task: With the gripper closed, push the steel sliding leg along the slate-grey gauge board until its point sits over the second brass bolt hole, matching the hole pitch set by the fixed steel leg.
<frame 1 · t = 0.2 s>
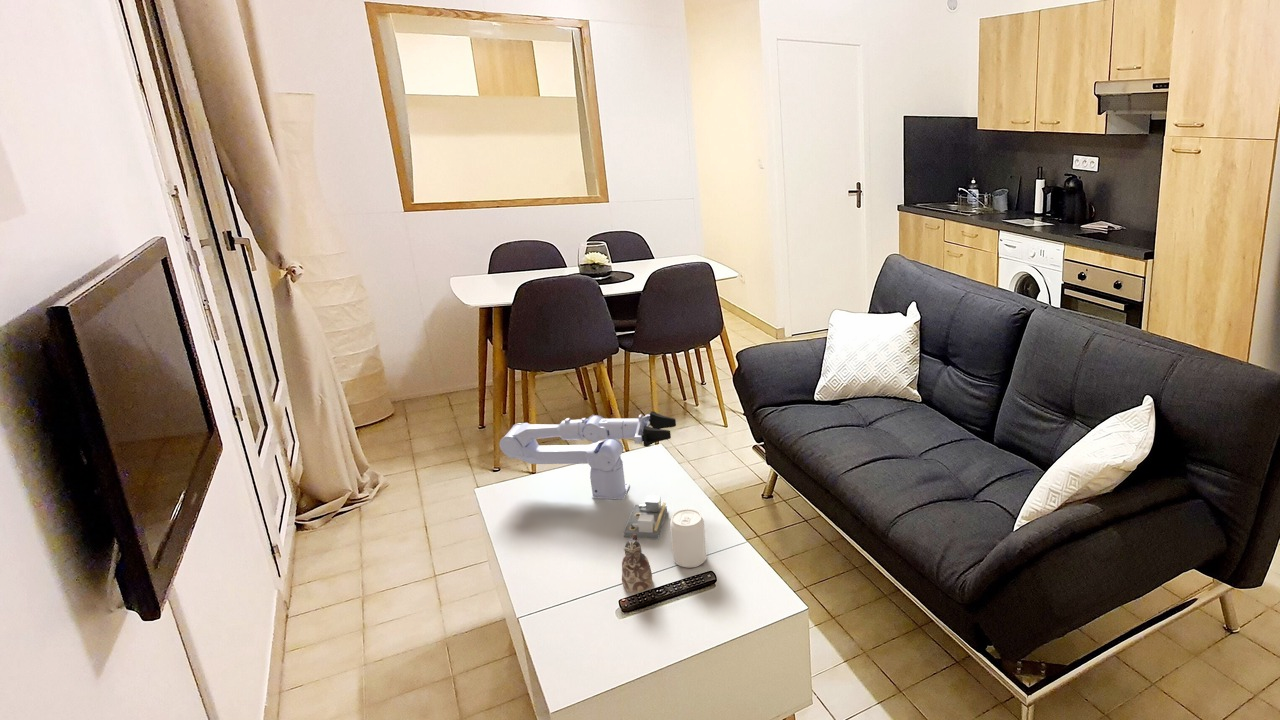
hand: (673, 428, 191), 21 cm above the table, tool horizontal, fingers open, 7 cm apart
gauge board: (646, 523, 186), on the table
figurine: (637, 583, 164), on the table
beverage can: (690, 559, 170), on the table
sliding leg: (649, 503, 189), point 3 cm above the table, slide at 0.0 cm
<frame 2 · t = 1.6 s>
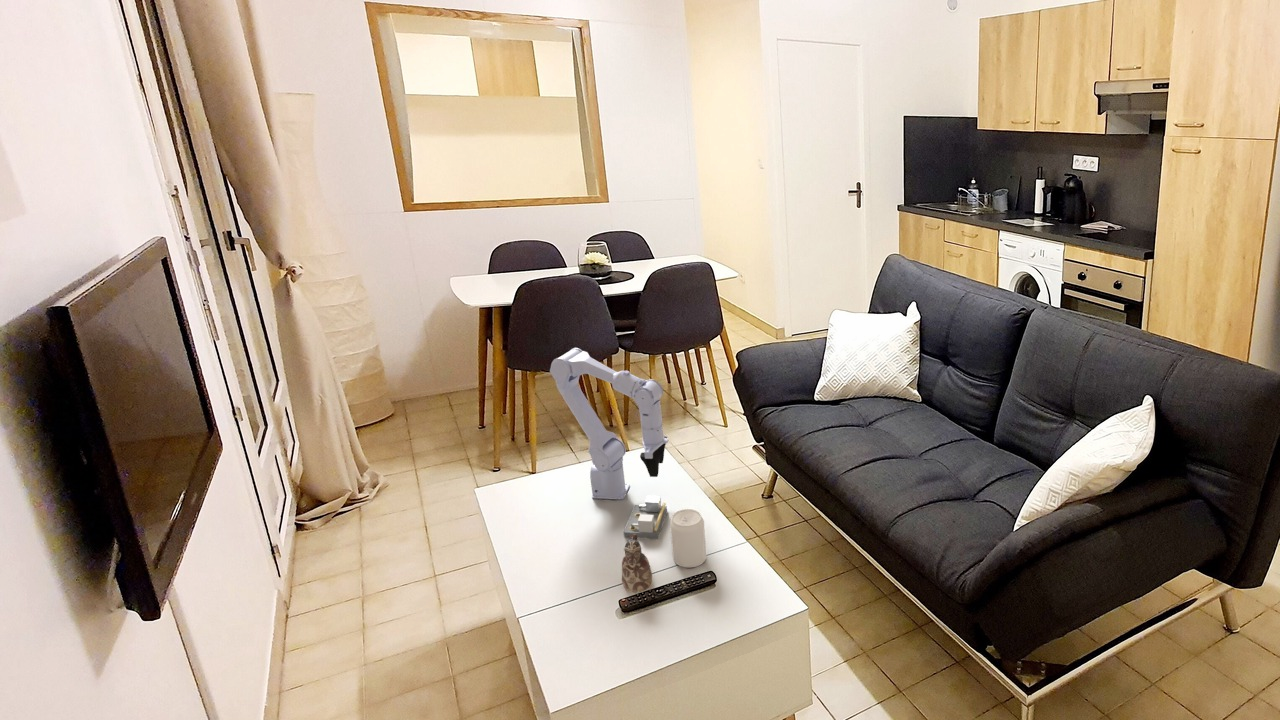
hand: (656, 469, 192), 10 cm above the table, tool pointing down, fingers open, 7 cm apart
nothing on the table moved.
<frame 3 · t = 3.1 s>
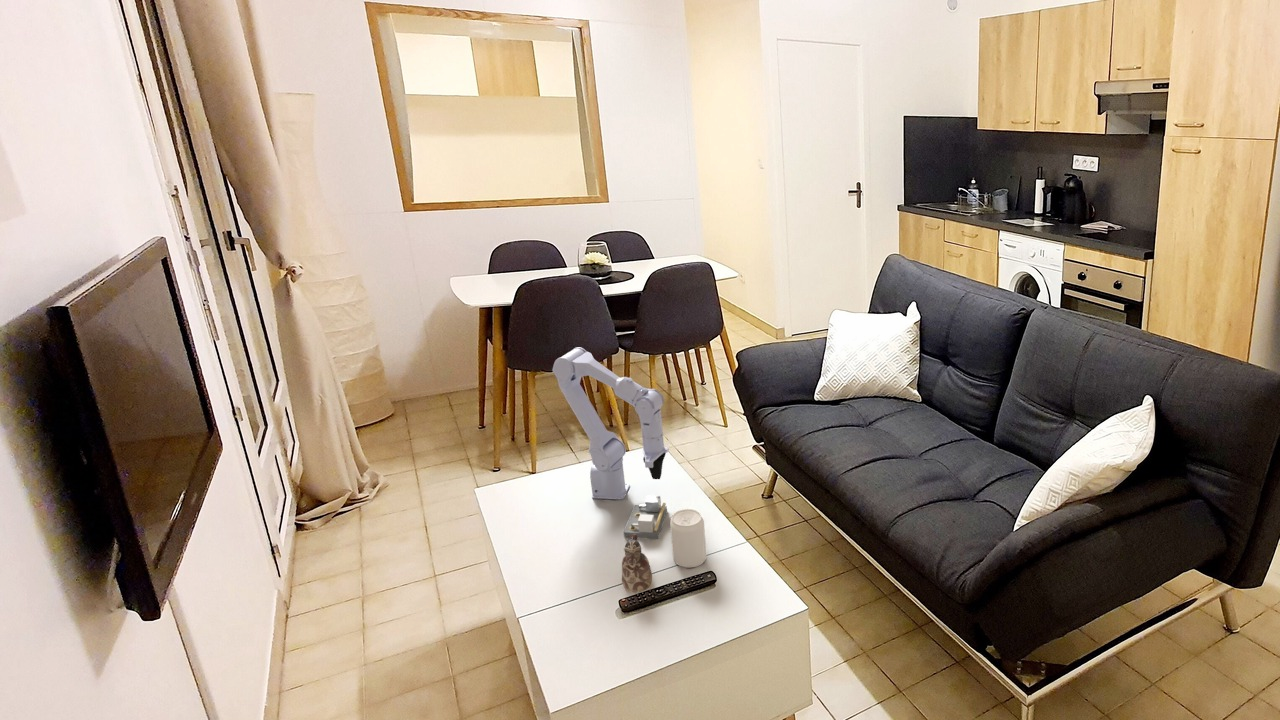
hand: (656, 477, 193), 8 cm above the table, tool pointing down, fingers closed
nothing on the table moved.
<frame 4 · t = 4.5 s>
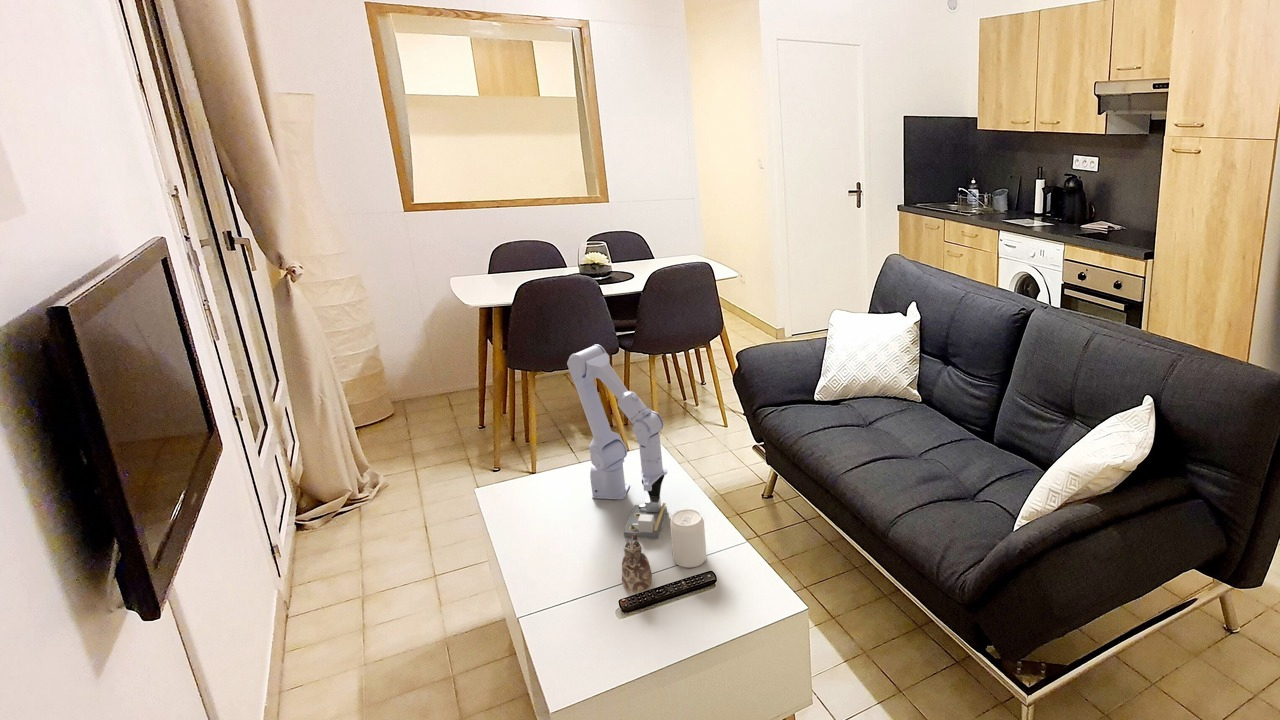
hand: (655, 500, 191), 3 cm above the table, tool pointing down, fingers closed
sliding leg: (648, 503, 189), point 3 cm above the table, slide at 0.2 cm, touching gripper
everything else where it was.
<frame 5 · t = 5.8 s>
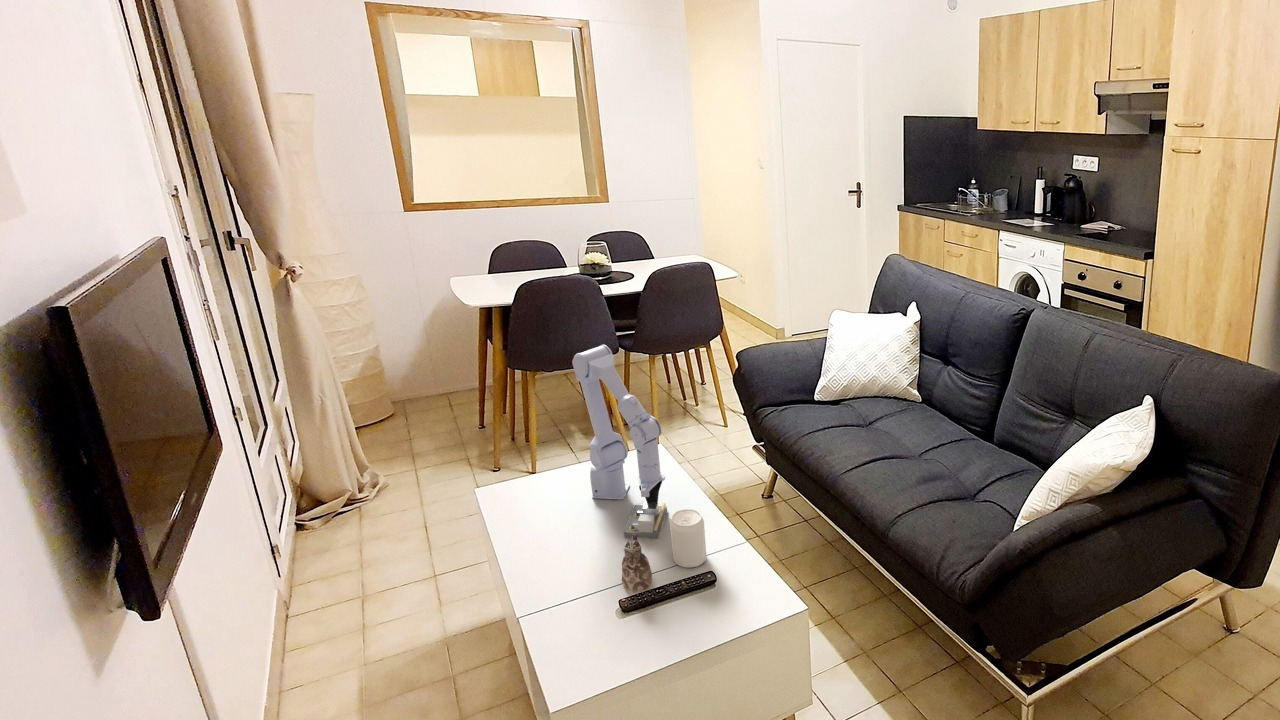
hand: (653, 506, 189), 3 cm above the table, tool pointing down, fingers closed
sliding leg: (646, 510, 186), point 3 cm above the table, slide at 3.2 cm, touching gripper
everything else where it was.
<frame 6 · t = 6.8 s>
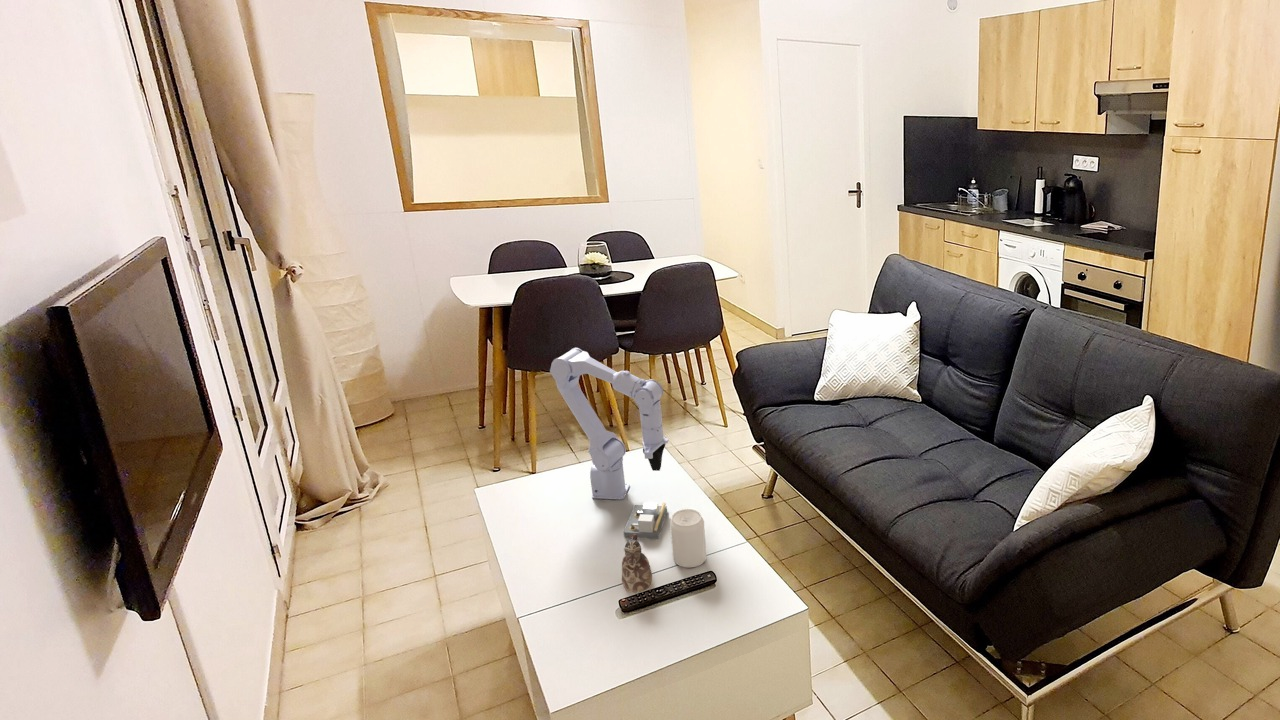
hand: (656, 469, 192), 10 cm above the table, tool pointing down, fingers closed
sliding leg: (646, 510, 186), point 3 cm above the table, slide at 3.2 cm
everything else where it was.
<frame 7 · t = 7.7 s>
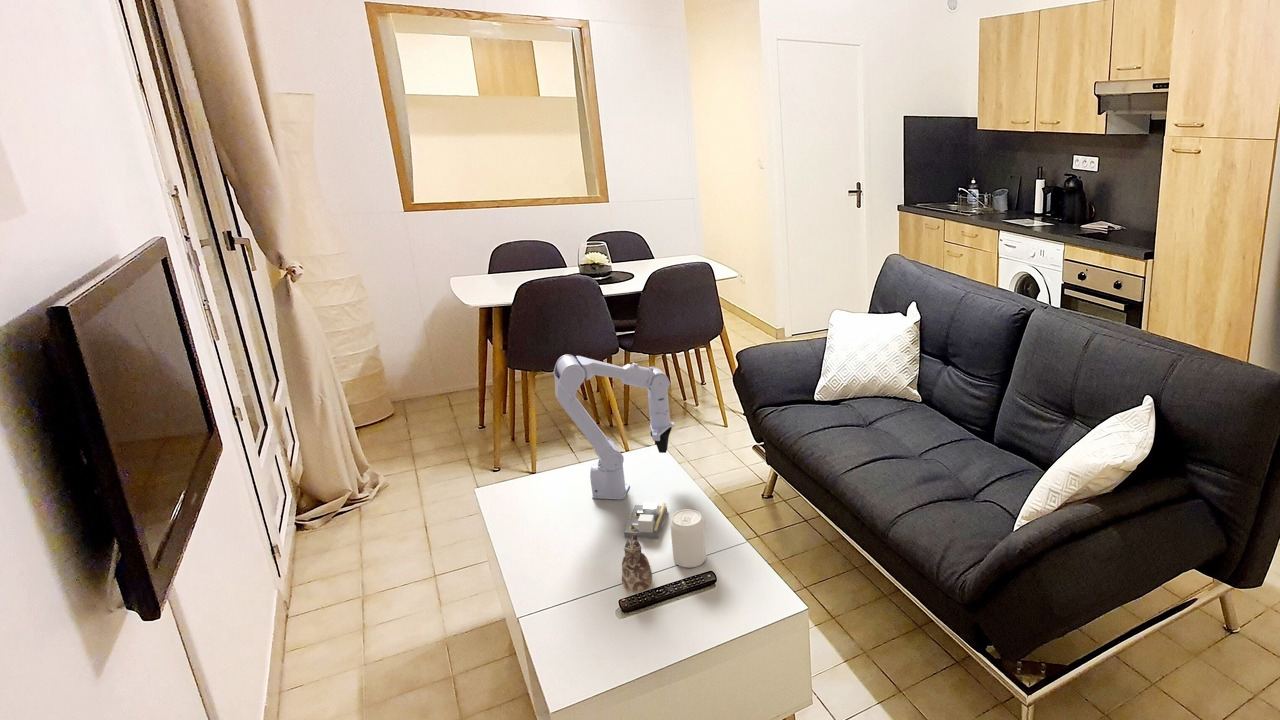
hand: (663, 451, 204), 9 cm above the table, tool pointing down, fingers closed
nothing on the table moved.
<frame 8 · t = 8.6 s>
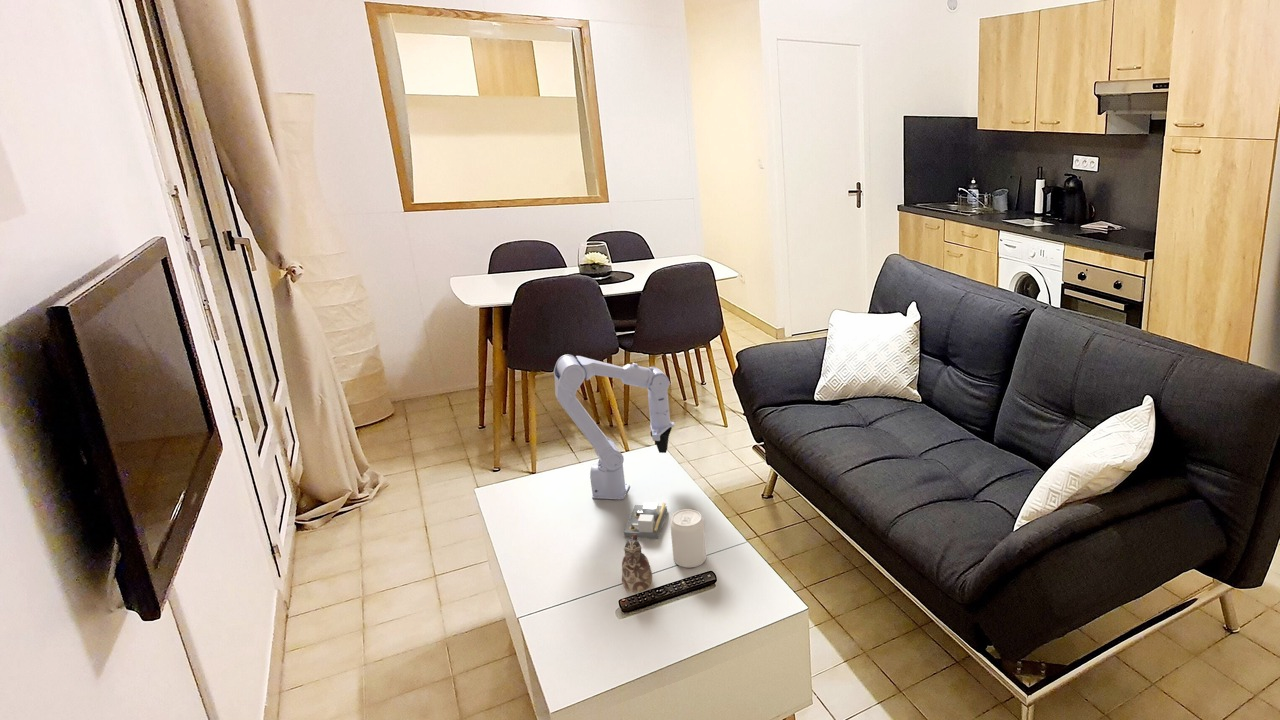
hand: (663, 451, 204), 9 cm above the table, tool pointing down, fingers closed
nothing on the table moved.
at the end: sliding leg slide at 3.2 cm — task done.
